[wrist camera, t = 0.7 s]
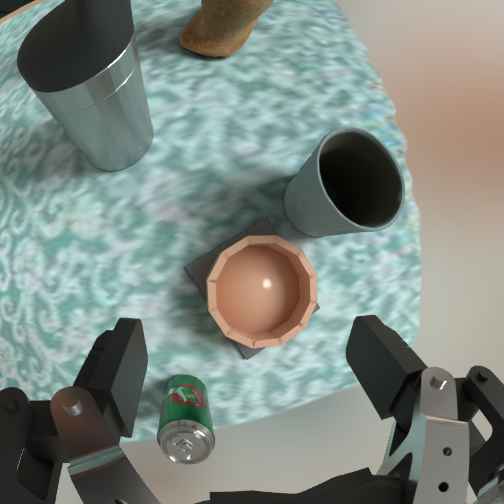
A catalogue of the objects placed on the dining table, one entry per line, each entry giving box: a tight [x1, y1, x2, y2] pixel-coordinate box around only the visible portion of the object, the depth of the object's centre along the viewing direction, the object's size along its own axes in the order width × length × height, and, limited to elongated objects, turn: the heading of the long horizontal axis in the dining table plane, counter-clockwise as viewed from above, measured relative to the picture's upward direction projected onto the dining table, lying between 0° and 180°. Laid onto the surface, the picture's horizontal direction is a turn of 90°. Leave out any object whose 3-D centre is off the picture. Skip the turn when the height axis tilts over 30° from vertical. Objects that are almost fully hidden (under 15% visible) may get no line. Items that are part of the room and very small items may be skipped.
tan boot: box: [180, 0, 274, 57], centre depth 26 cm, size 15×12×15 cm
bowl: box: [206, 235, 317, 348], centre depth 30 cm, size 12×12×4 cm
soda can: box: [157, 375, 215, 464], centre depth 24 cm, size 5×5×12 cm
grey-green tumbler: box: [284, 127, 405, 237], centre depth 29 cm, size 10×10×12 cm
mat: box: [186, 218, 320, 360], centre depth 32 cm, size 13×11×1 cm
